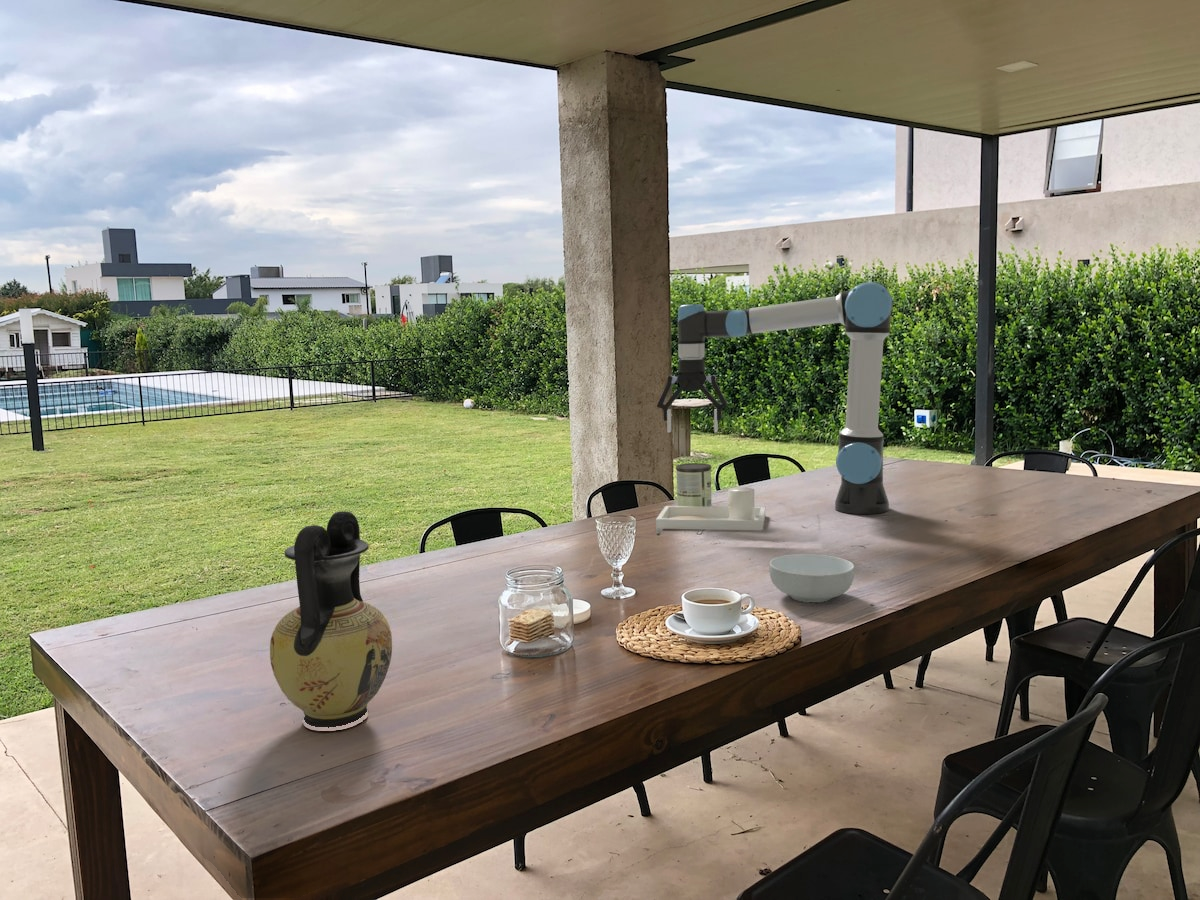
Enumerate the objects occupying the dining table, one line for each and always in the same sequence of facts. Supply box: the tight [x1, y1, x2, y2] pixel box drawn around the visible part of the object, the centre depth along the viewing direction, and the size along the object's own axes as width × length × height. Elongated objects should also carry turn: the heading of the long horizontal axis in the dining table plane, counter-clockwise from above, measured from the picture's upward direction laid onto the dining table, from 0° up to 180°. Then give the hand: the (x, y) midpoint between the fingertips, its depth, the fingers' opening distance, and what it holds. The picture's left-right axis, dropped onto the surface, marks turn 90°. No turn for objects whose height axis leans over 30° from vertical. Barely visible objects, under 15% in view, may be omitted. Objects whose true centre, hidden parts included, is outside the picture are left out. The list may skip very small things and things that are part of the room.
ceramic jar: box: [727, 486, 756, 520], centre depth 250 cm, size 7×7×9 cm
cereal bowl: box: [769, 553, 855, 603], centre depth 187 cm, size 17×17×7 cm
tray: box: [655, 505, 766, 535], centre depth 252 cm, size 28×18×4 cm, turn 78°
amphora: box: [269, 510, 393, 728], centre depth 133 cm, size 18×17×30 cm
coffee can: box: [675, 462, 712, 506], centre depth 272 cm, size 10×10×14 cm
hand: (692, 432), depth 269 cm, fingers open, 13 cm apart
